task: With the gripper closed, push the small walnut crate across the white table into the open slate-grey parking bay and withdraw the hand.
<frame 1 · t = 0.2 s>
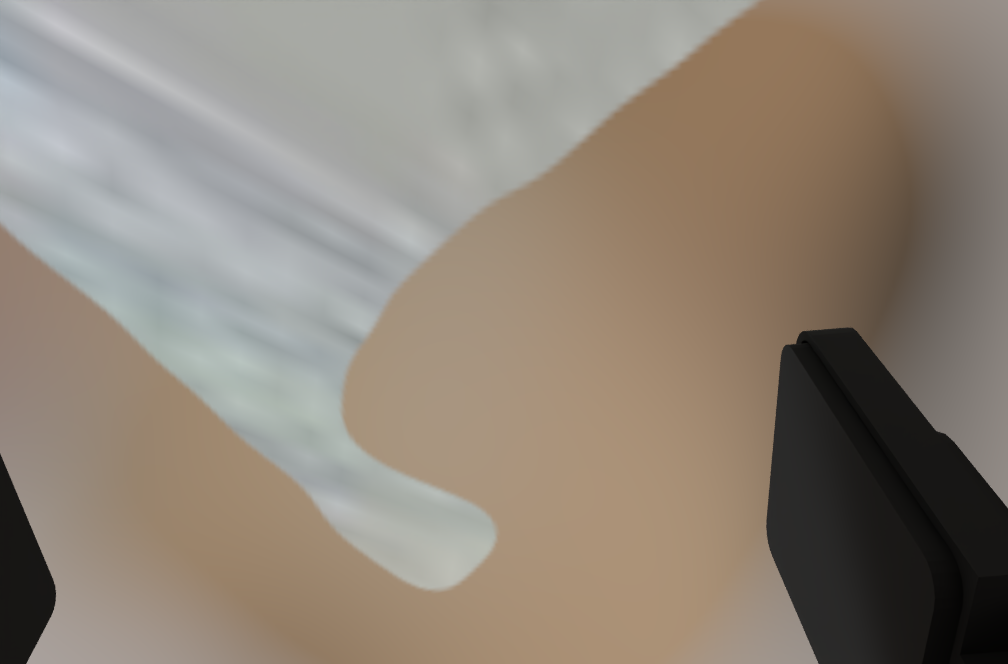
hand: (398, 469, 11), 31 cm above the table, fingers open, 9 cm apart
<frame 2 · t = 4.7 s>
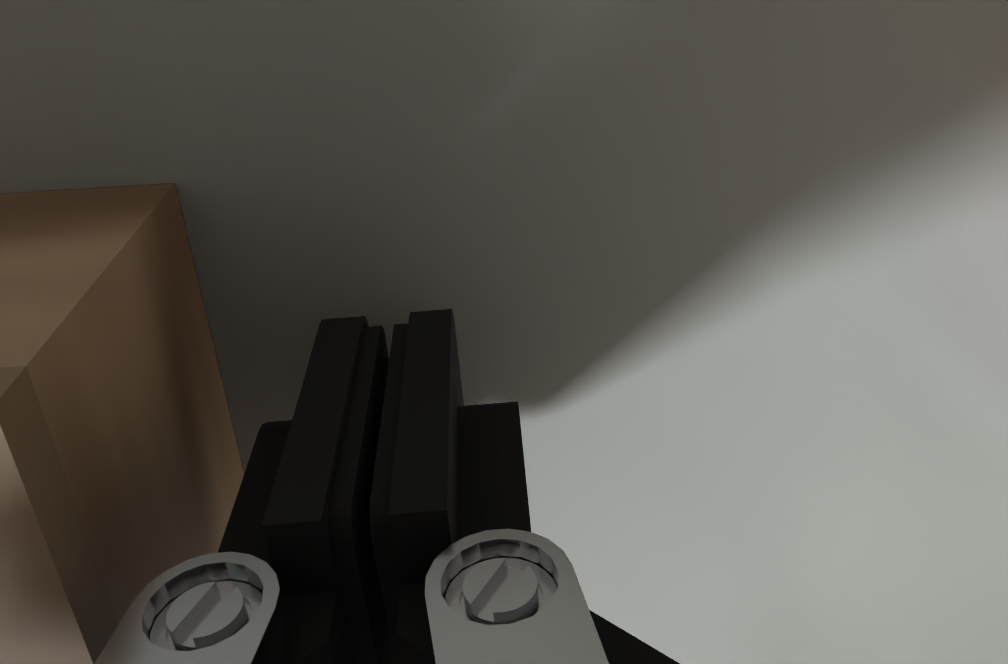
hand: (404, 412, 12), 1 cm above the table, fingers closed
crate: (8, 401, 13), on the table, touching gripper
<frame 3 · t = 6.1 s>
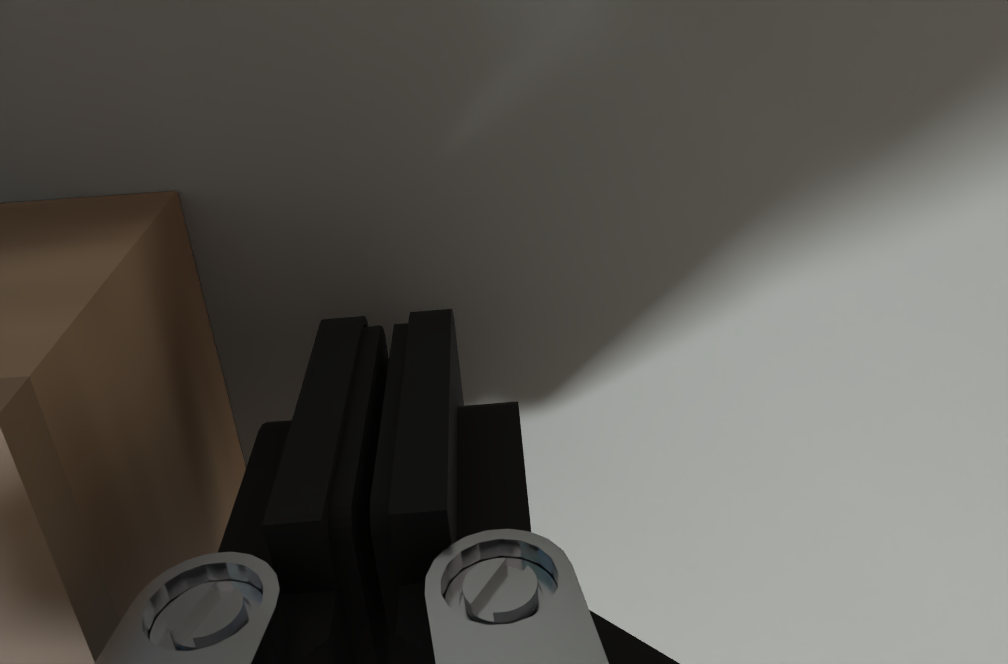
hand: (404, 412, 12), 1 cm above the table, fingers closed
crate: (14, 407, 13), on the table, touching gripper
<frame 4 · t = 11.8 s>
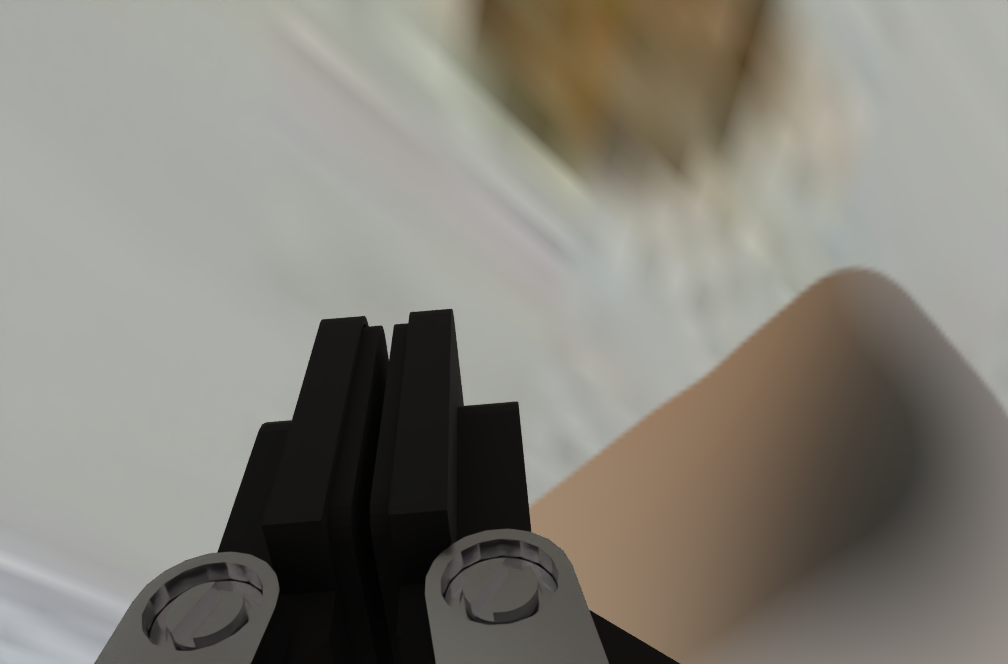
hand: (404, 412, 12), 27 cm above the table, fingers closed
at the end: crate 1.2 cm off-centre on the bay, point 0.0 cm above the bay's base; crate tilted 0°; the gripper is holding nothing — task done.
